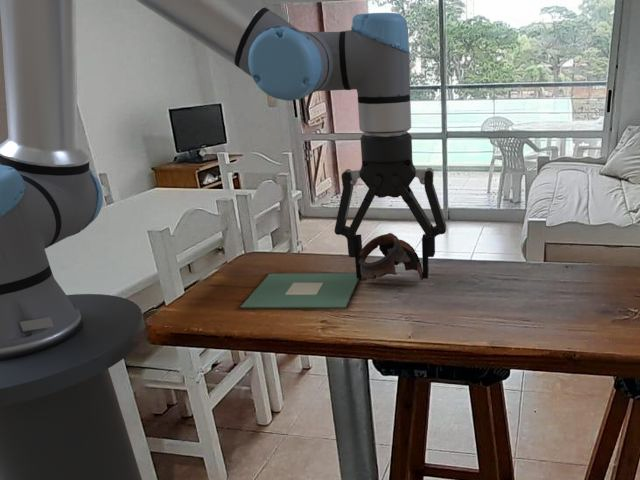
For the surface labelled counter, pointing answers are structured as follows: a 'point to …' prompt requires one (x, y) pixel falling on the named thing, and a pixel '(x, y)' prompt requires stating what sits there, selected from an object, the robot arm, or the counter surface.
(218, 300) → the counter surface
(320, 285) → the centre mat
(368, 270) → the broken pottery ring
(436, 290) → the counter surface
